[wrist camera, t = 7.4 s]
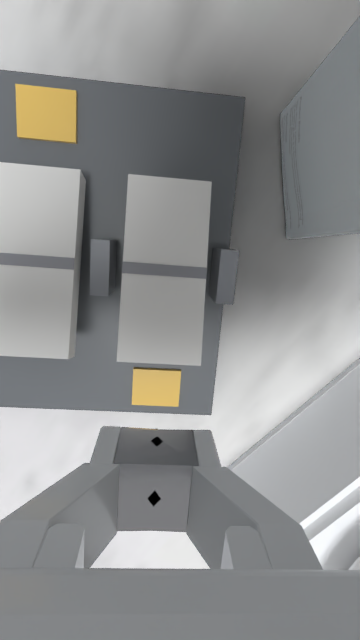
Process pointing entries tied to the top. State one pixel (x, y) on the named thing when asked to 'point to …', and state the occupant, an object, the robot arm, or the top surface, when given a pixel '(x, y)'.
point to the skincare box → (324, 147)
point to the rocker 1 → (40, 259)
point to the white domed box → (316, 470)
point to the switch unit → (122, 227)
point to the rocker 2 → (164, 270)
